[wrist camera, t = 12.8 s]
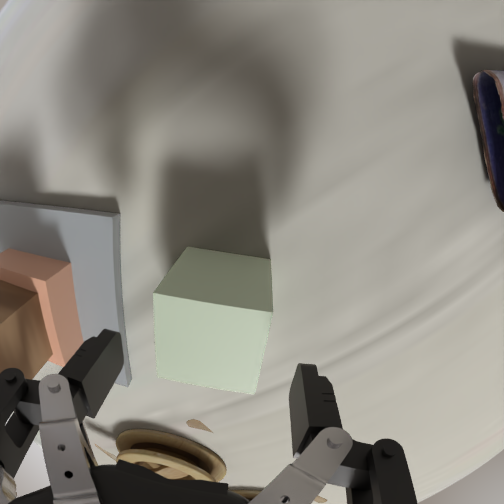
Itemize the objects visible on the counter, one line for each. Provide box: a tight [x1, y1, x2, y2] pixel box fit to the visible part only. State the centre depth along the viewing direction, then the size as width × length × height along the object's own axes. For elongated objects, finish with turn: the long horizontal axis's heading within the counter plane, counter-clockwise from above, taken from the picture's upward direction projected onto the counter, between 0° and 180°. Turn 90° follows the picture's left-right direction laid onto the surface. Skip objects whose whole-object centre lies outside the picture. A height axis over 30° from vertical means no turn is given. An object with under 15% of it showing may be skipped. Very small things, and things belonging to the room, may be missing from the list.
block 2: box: [153, 247, 273, 394], centre depth 15 cm, size 5×5×6 cm
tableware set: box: [95, 419, 327, 503], centre depth 26 cm, size 30×20×6 cm, turn 35°
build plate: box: [0, 200, 132, 387], centre depth 17 cm, size 14×14×4 cm
